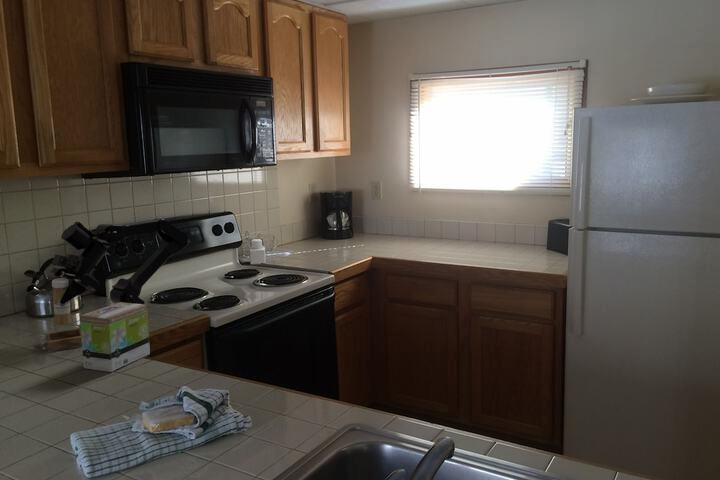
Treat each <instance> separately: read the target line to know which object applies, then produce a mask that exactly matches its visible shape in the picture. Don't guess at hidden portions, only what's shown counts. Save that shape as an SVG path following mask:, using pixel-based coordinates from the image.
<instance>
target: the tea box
mask: <svg viewBox="0 0 720 480" xmlns="http://www.w3.org/2000/svg"><path fill="white" fill-rule="evenodd" d="M148 316H149V315H148V304H145V303H144V304H133V303H122V302H119V303H116V304H115V303H114V304H111V305H108V306H105V307H101V308H98V309H95V310H93V311H90V312H86V313H84V314H80V315H79V320H80V322H79V323H80V328H81V339H82V346H81V351H82V362H83V365H82V366H83V368H84V369H87V370H93V371H101V372H109V373H113V372H115V371H116V370H117V369H120V368H122V367H125V366H126V365H129V364H131V363H133V362H135V361H137V360H140V359H142V358H144V357H147V356H149V355H150V354H151V350H150V349H151V348H150V346H151V345H150V344H151V343H150V332H149V320H148Z"/></svg>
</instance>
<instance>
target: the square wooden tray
mask: <svg viewBox="0 0 720 480" xmlns="http://www.w3.org/2000/svg"><path fill="white" fill-rule="evenodd" d="M45 342H46V347H47V351H48V353H51V352H57V351H63V350H68V349H73V348H74V349H75V348H82V339H81V327H79V328H78V327H77V328H72V329H66V330H65V329H64V330H60V331H53V332H46V333H45Z"/></svg>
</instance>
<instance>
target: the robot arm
mask: <svg viewBox="0 0 720 480" xmlns="http://www.w3.org/2000/svg"><path fill="white" fill-rule="evenodd" d="M150 233H156V234H157V236H158V237H159V238H160V239H161V240H160V241H159V247H158V248H157V249H156V250H155V251H154V252H153V253H152V254H151V255H150V256H149V257H148V259H146V260H145V262H144V263H143V264H142V265H141V266H140V267H139V268H138V269H137V270H136V271H135V272H133V274H132V275H131V276H130V277H129V278H127V279H126V278H122V277H121V278H118V280H117V281H116V283H115V284H113V285H112V286H111V290H110V291H109V300H110V301H111V302H112V303H114V304H116V303H119V302H122V303H133V304H144V305H145V303H146V302H145V300H143V299H142V298H141V297H140V295H141V292H142V289H143V287H144V285H145V284H146V283H147V282H148V281H149V280H150V279H151V278H152V277H153V276H154V275H155V273H157V271H158V270H160V268H161V267H162V266H163V265H165V263H166V262H167V261H168V259H170V257H172V256H174V255H175V254H179V252H181V251H182V250H184V249H185V248H186V247H187V246H188V245H189V236H188V234H187V233H186V232H185V231H181V230H180V229H179V228H177V227H175V226H174V225H172V224H171V223H170V222H169V221H167V220H166V219H164V218H153V219H151V220H143V221H142V220H141V221H136V222H132V223H131V222H129V223H126V224H117V223H116V224H114V223H101V224H98V225H97V227H96V228H94V229H90V230H89V229H88V228H87V227H85V225H84V224H83V223H82V222H80V221H75V222H74V223H73V224H72V225H69V226H68V227H67V228H65V229H64V231H63V232H62V234H61V239H62V240H63V241H64V242H66V243H67V244H68V245H69V246H71V247H72V248H74V249H75V250H76V251H79V250H82V251H81V252H80V253H79V255H75V254H71V253H68V254H67V255H60V254H56V253H55V254H54V257H53V260H52V262H51V265H52V266H56V267H53V268H52V270H51V271H50V274H51V275H52V276H53V277H54V278H55V279H58V278H66V279H68V281H69V286H68V288H67V290H66V291H65V293H64V295H63V296H62V298H61V300H60V303H61V304H64V303H66V302H68V301H69V300H70V301H71V300H73V299H74V298H77V297H78V296H80V295H83V293H85V292H88V291H89V290H91V291H95V292H96V291H97V289H98V288H99V286H100V281H99V280H98V279H96V278H95V277H94V276H92V275H91V273H93V272H94V271H97V270H98V269H99V267H98V266H97V265H98V264H99V263H100V262H101V260H102V259H103V257H104V256H105V255H108V256H113V255H114V252H113V249H112V246H109V245H105V244H104V243H107V244H116V243H118V242H121V241H123V240H125V239H126V238H129V237H132V236H138V235H144V234H150ZM96 240H97V241H96ZM88 287H89V289H88ZM51 301H52V302H53V297H52V299H51Z"/></svg>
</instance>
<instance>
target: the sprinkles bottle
mask: <svg viewBox="0 0 720 480" xmlns="http://www.w3.org/2000/svg"><path fill="white" fill-rule="evenodd" d="M68 286H69V281H68V279H66V278H58V279H56V278H55V279H52V281H51V287H52V294H53V296H52V298H53V301H52V302H53V316H54V325H56V326H66V325H70V323H71V322H72V319H71V300H69V301H68V302H66V303H64V304H61V303H60V300H61V298H62V296H63V295H64V293H65V291H66V290H67V288H68Z"/></svg>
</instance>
